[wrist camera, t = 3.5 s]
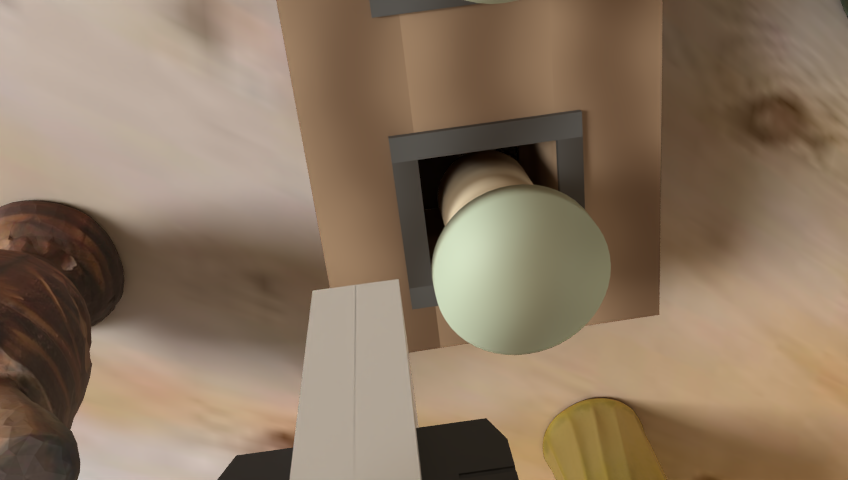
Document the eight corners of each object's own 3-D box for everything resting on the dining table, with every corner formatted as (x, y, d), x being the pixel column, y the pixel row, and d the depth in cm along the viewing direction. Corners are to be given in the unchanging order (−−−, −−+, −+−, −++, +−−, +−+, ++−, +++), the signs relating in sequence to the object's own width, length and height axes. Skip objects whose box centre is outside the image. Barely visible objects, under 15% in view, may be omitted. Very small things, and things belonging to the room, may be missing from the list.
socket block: (343, 279, 41) (343, 366, 34) (249, -251, 31) (220, -296, 24) (603, 240, 42) (661, 317, 34) (592, -292, 32) (670, -348, 24)
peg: (422, 267, 35) (444, 366, 28) (406, 137, 32) (424, 209, 25) (555, 247, 35) (612, 341, 28) (549, 117, 33) (609, 182, 25)
